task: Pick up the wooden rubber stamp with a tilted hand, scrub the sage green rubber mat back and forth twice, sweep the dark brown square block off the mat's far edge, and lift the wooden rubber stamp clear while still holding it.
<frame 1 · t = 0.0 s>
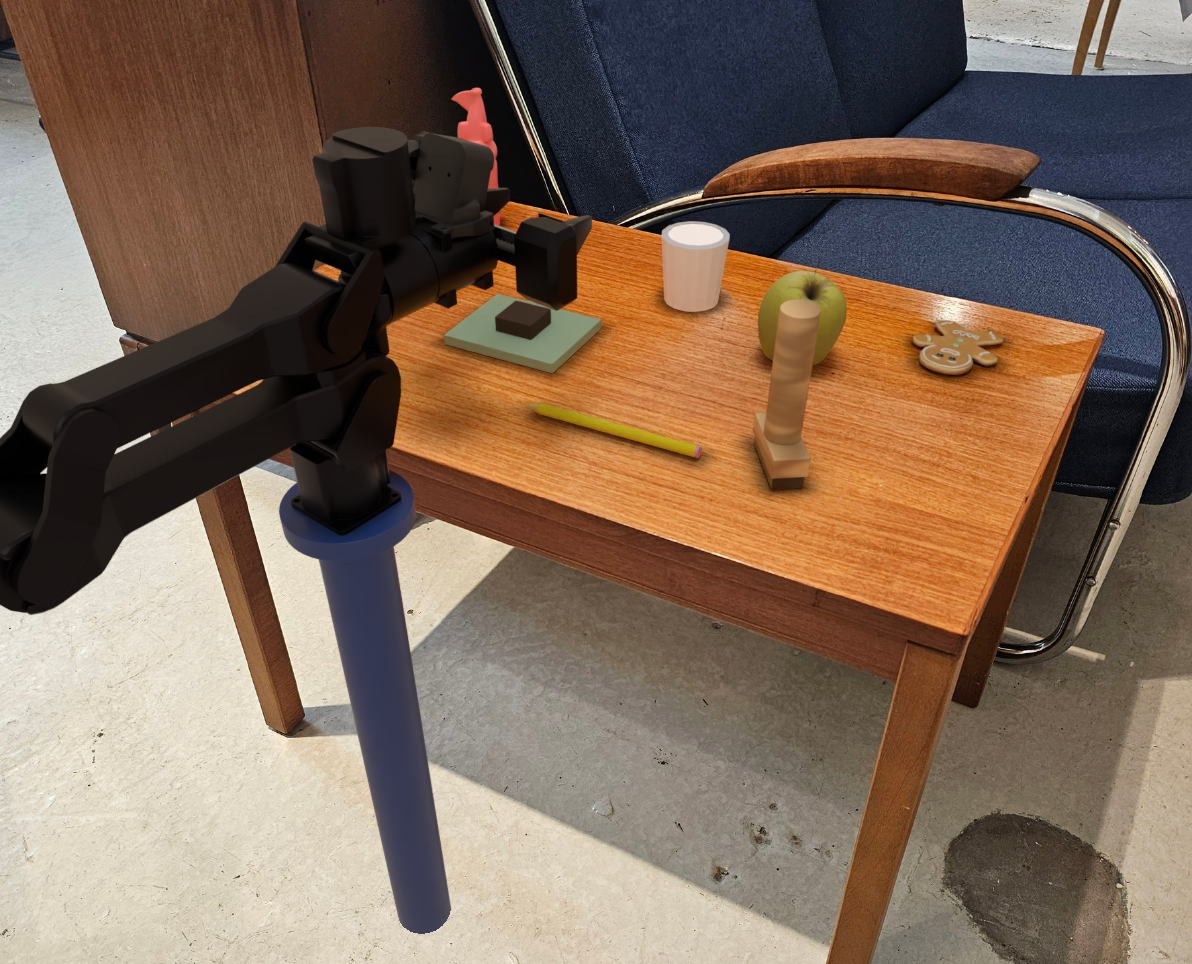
hand: (548, 207, 89), 15 cm above the table, tool horizontal, fingers open, 9 cm apart
white cup: (691, 301, 109), on the table
wooden rubber stamp: (777, 465, 87), on the table
pencil: (609, 434, 90), on the table
apple: (795, 362, 100), on the table
mat: (524, 336, 103), on the table
figurine: (482, 226, 124), on the table
dark brown square block: (523, 326, 103), point 1 cm above the table, touching mat
cookie: (953, 353, 101), on the table
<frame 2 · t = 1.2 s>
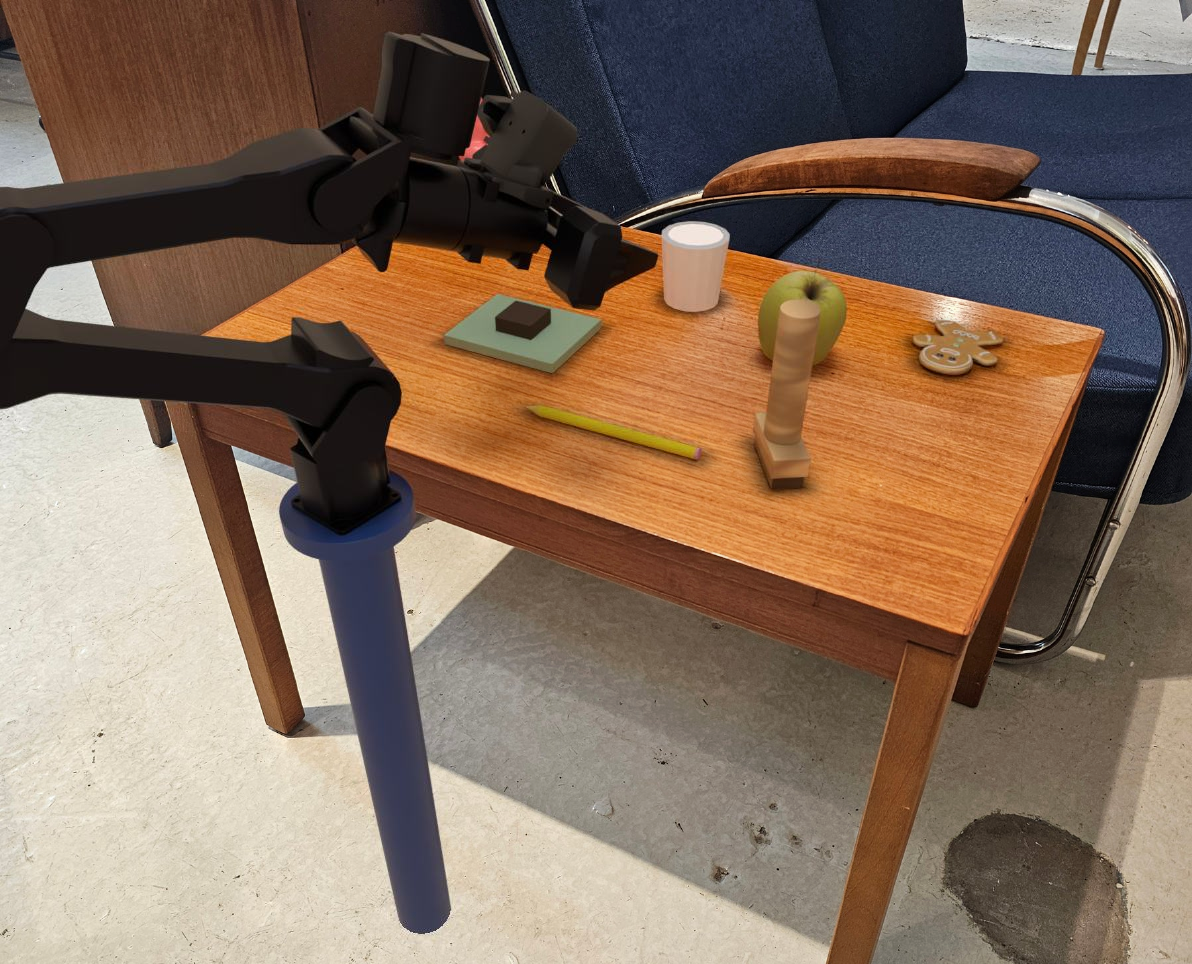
hand: (624, 239, 84), 15 cm above the table, tool tilted 70°, fingers open, 9 cm apart
nothing on the table moved.
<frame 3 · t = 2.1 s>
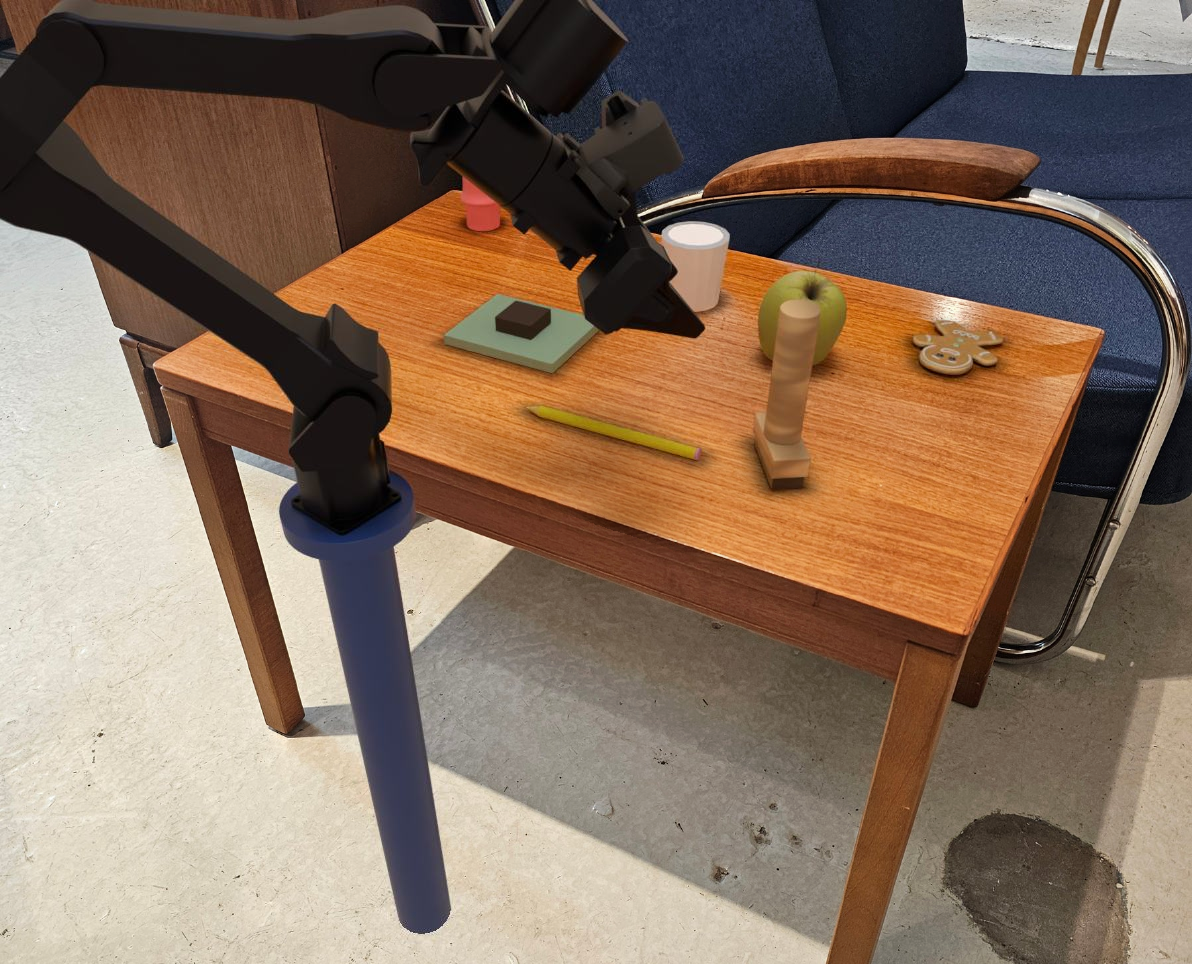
hand: (686, 303, 78), 14 cm above the table, tool tilted 50°, fingers open, 9 cm apart
nothing on the table moved.
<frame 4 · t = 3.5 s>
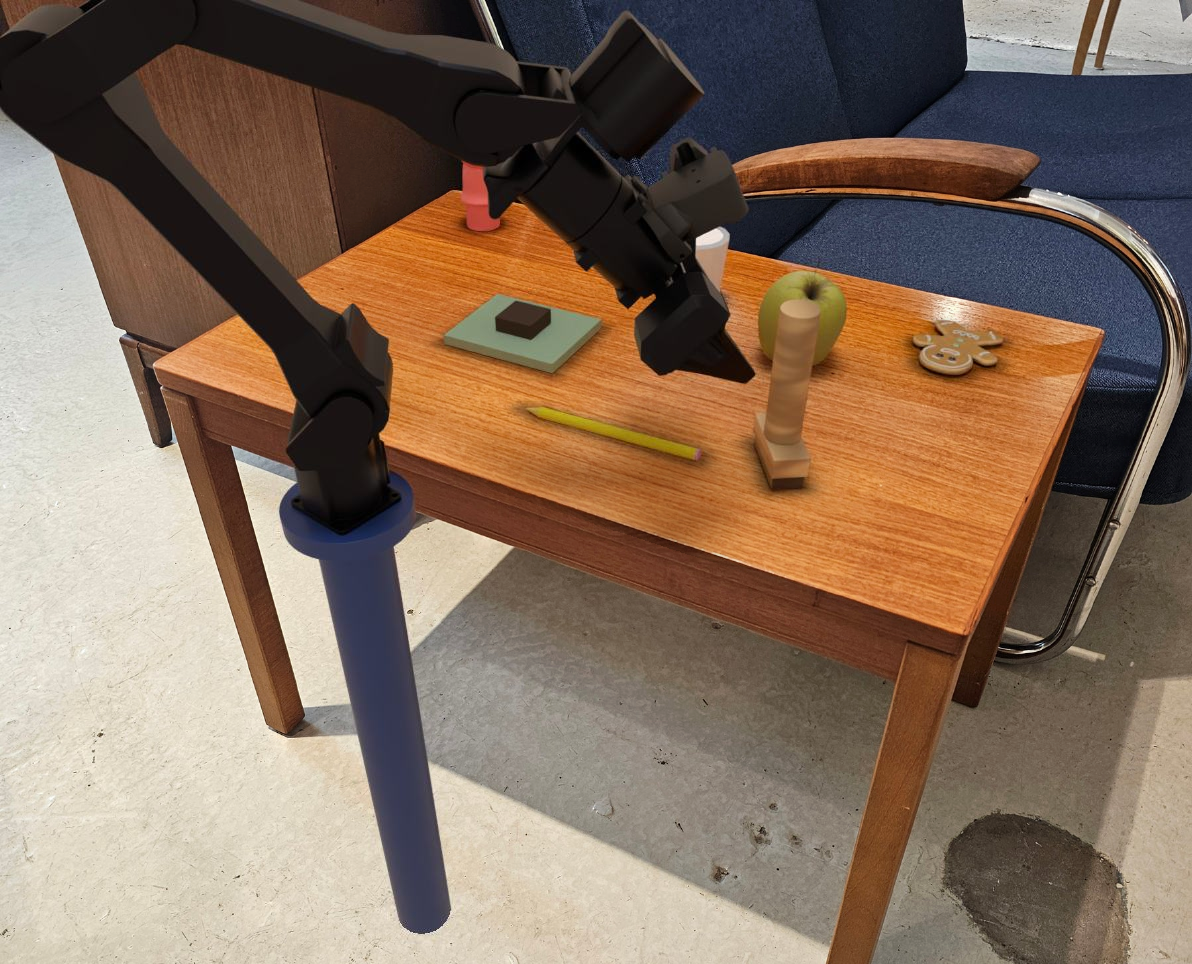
hand: (737, 347, 79), 11 cm above the table, tool tilted 45°, fingers open, 9 cm apart
nothing on the table moved.
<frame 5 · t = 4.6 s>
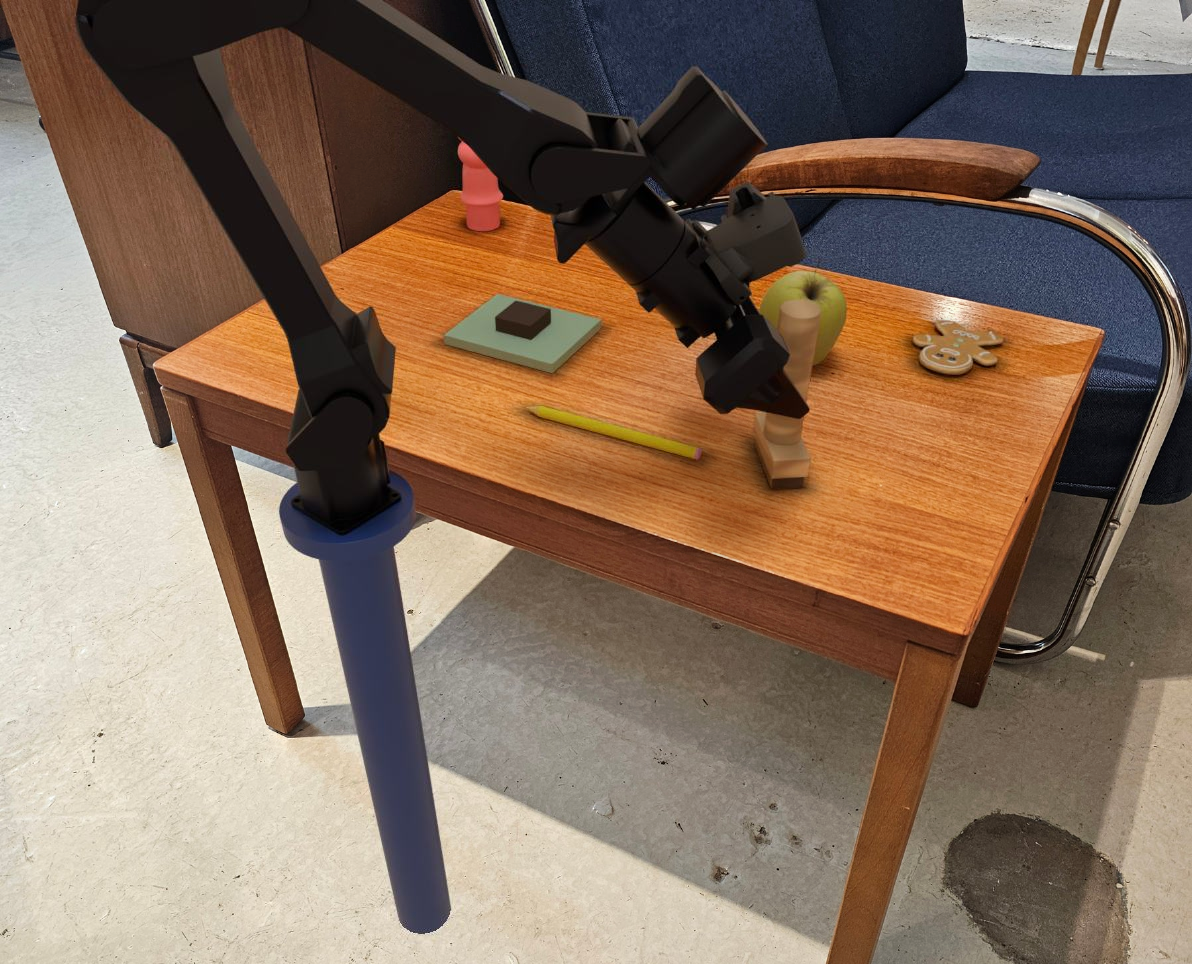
hand: (790, 382, 82), 8 cm above the table, tool tilted 45°, fingers open, 9 cm apart
nothing on the table moved.
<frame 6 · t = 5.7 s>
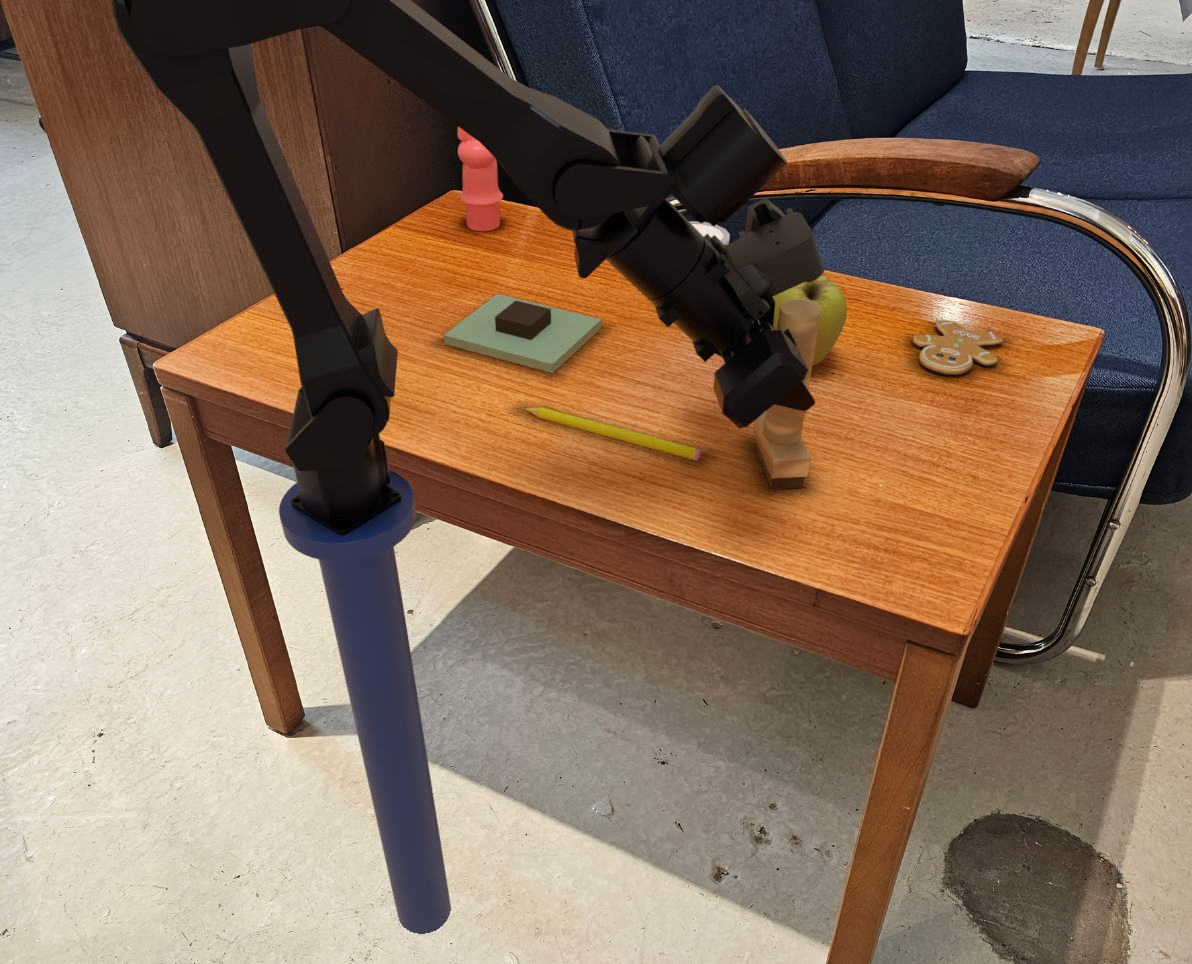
hand: (805, 395, 83), 7 cm above the table, tool tilted 45°, fingers closed on wooden rubber stamp, 3 cm apart
wooden rubber stamp: (777, 465, 87), on the table, touching gripper
everything else where it was.
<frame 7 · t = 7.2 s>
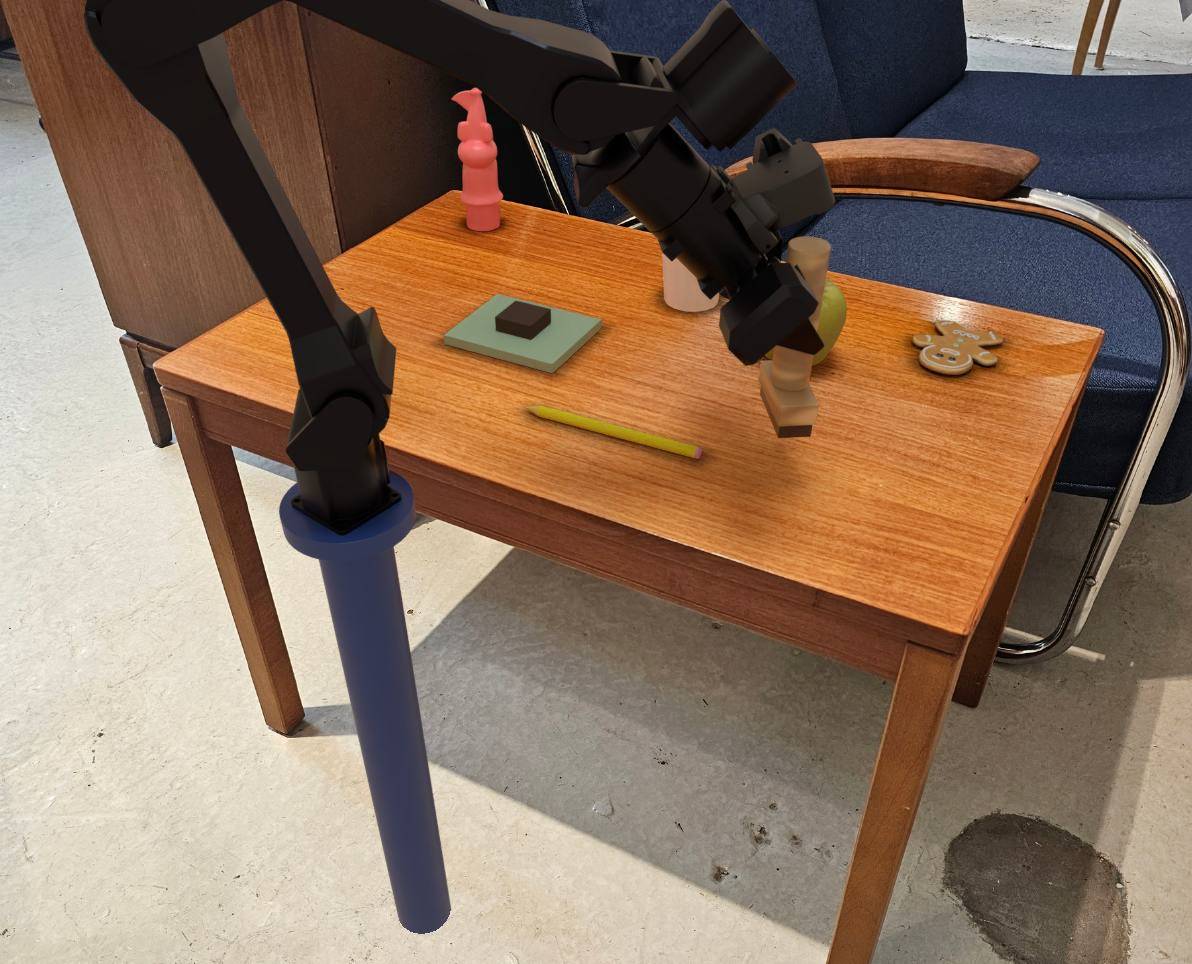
hand: (813, 339, 79), 11 cm above the table, tool tilted 45°, fingers closed on wooden rubber stamp, 3 cm apart
wooden rubber stamp: (784, 415, 84), point 5 cm above the table, touching gripper
everything else where it was.
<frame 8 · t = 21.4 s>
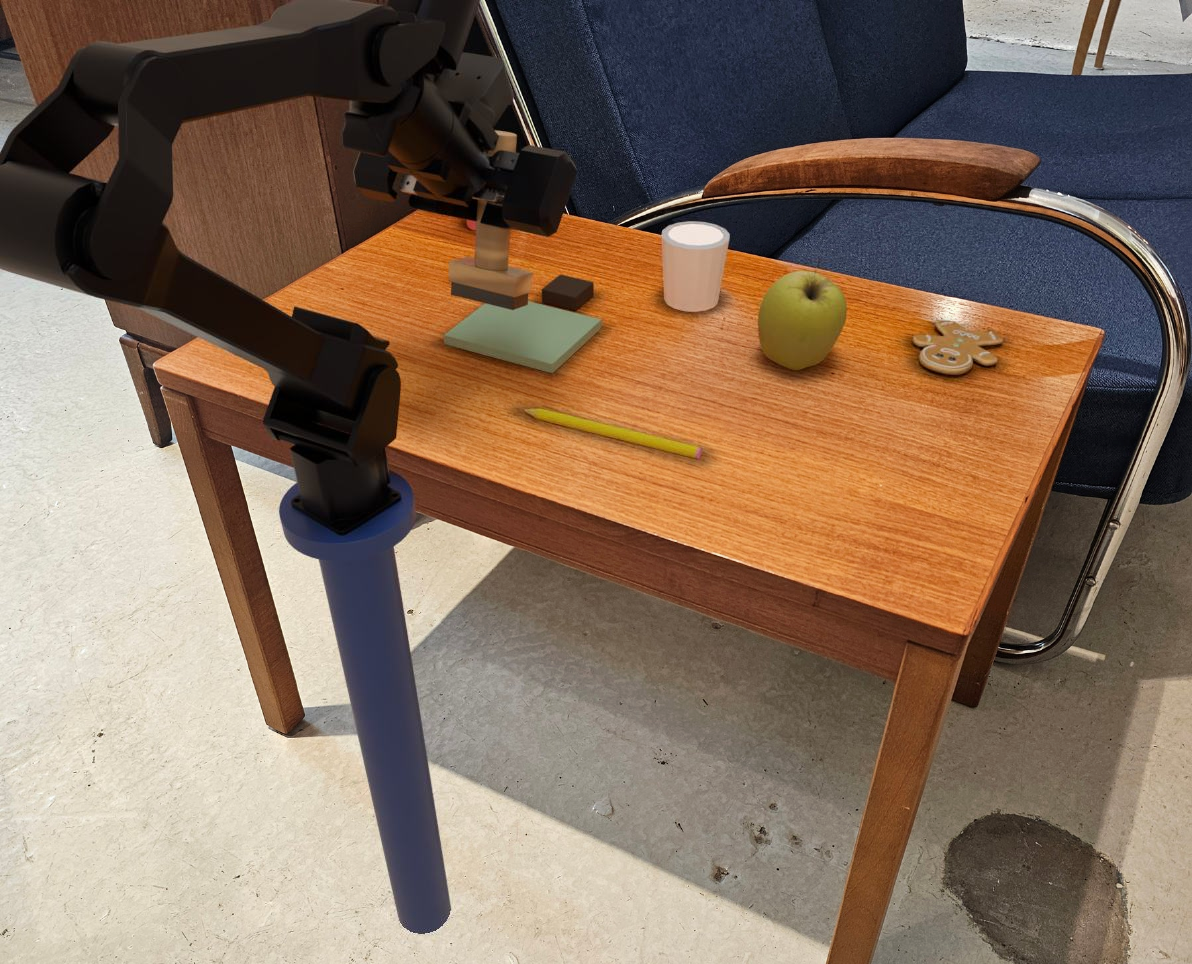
hand: (503, 221, 93), 12 cm above the table, tool tilted 45°, fingers closed on wooden rubber stamp, 3 cm apart
wooden rubber stamp: (489, 300, 95), point 6 cm above the table, tilted 14°, touching gripper
dark brown square block: (567, 299, 109), on the table
everything else where it was.
at the end: dark brown square block moved 9.1 cm from its start; dark brown square block touching table; the gripper is holding wooden rubber stamp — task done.
